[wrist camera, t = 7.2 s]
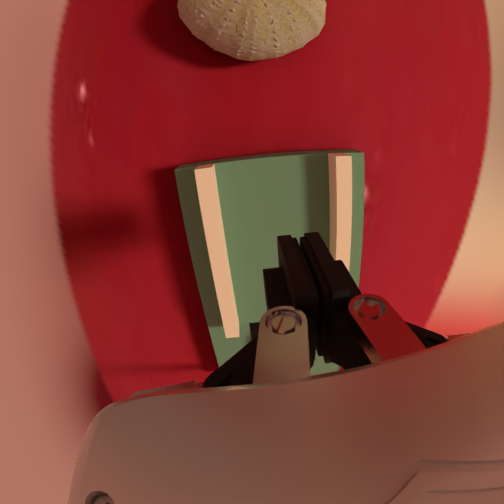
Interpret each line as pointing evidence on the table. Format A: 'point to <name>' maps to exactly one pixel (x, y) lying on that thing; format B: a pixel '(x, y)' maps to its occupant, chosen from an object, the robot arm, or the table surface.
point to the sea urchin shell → (253, 25)
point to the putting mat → (265, 229)
